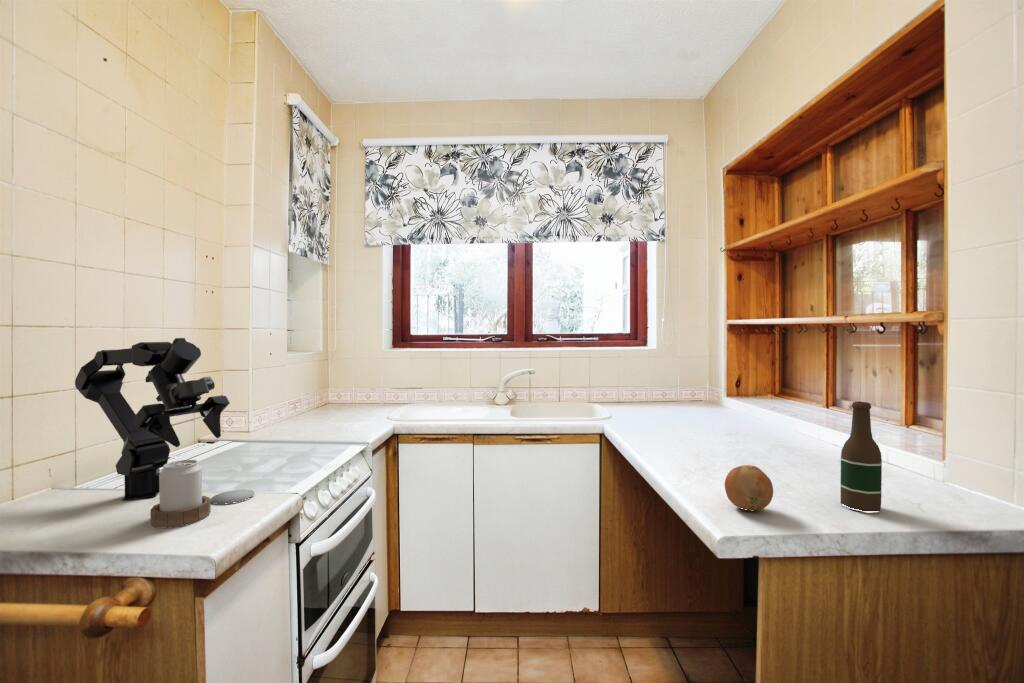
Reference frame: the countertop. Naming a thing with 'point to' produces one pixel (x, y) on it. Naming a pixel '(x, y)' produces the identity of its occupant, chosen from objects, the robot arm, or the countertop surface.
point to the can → (180, 485)
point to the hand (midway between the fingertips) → (199, 441)
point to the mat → (232, 496)
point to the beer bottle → (861, 464)
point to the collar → (180, 515)
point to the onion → (749, 487)
